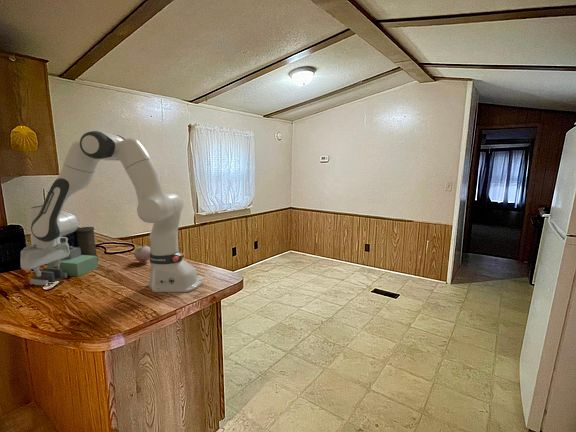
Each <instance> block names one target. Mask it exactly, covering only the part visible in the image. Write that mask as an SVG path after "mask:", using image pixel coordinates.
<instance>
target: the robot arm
mask: <svg viewBox="0 0 576 432" xmlns="http://www.w3.org/2000/svg"><path fill="white" fill-rule="evenodd" d="M101 160H102V161H120V163H121V164H122V166H123V168H124V170H125V173H126V174H127V176H128V178H129V180H130V181H131V183H132V185H133V187H134V189H135V190H134V191H135V192H136V193H135V194H136V197H137V207H136V213H137V215H138V218H139V219H140V220H141V221H143V222H144V223H147V224H153V226H152V229H151V231H150V233H149V247H150V251H151V253H150V258H149V263H150V275H149V276H150V277H149V281H148V287H149V289H150V290H151V292H153V293H189V292H193V291H194V290H196V289H197V288H199V287H200V286H201V285H203V282H204V280H203V277H199V276H198V272H197V270H196V268H195V267H194V266H193V265H191V264H190V263H188V262H187V261H186V260H184V258H183V256H184V255H185V252H182V253H181V251H180V250H179V238H178V235H179V234H178V233H179V232H178V231H179V226H180V225H179V224H180V219H181V214H182V211H183V209H184V201H183V199H182V197H181V196H180V195H178V194H176V193H174V192H165V193H164V191H163V188H162V183H161V182H162V176H161V174H160V172H159V170H158V168H157V167H156V164H155V162H154V161H153V159H152V157H151V155H150V153H149V152H148V151H147V149H146V148H145V147H144V145H143V144H142V143H141V141H140V140H138V139H136V138H131V137H130V138H125V137H123V136H121V135H119V134H114V133H110V132H107V131H99V130H92V131H91V130H90V131H88V132H84V134H82V136H81V137H80V139H79V140H75V141H74V142H73V143H72V144H71V146H70V147H69V149H68V152H67V154H66V155H65V158H64V162H63V165H62V166H61V170H60V172H59V174H58V176H57V177H56V178H55V180H54V181H53V182H52V184H51V187H50V188H49V190H48V193H47V194H46V198H45V199H44V201H43V204H41V205H37V206H32V207H30V208H29V210H28V213H27V214H28V215H27V217H28V219H27V220H28V221H27V222H28V227H29V229H30V243H31V245H29V246H25V247H23V249H21V251H20V261H19V262H20V268H21V269H22V270H25V271H26V270H27V271H29V270H33V272H34V271H35V272H36V275H37V276H38V277H40V276H42V275H43V272H42V271H43V270H40V269H41V266H44V265H47V264H48V263H51V262H55V265H54V266H53V268H57V269H59V265H60V263H61V259H63V258H66V257H68V256H69V254H70V250H69V246H70V245H69V243H68V242H69V241H68V240H69V239H68V237H66V236H67V235H70V234H72V233H74V232H76V230H77V228H79V224H80V223H79V219H78V217H77V216H76V215H75V214H74V213H72V212H68V211H64V210H63V208H64V206H65V203H66V202H67V200H68V199H69V198H70V197H71V196H72V195H74V194H75V193H77V192H80V191H81V190H83V189H85V188H86V187H88V186H89V185H90V183H91V182H92V180H93V178H94V175H95V173H96V169H97V165H98V163H99V162H100V161H101Z"/></svg>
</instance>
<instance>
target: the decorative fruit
mask: <svg viewBox="0 0 576 432" xmlns="http://www.w3.org/2000/svg"><path fill="white" fill-rule="evenodd" d="M150 253H151V251H150V246H148V245H147V244H143V243H142V244H141V245H140V246H138V247H137V248H136V249H135V250H134V253H133V257H134V258H135V259H136V261H138V262H139V263H140V262H141V263H145V262H147V261H148V260H150Z"/></svg>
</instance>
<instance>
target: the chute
mask: <svg viewBox="0 0 576 432" xmlns="http://www.w3.org/2000/svg"><path fill="white" fill-rule="evenodd" d="M41 271H42V272H43V275H42V276H40V277H38V276H37V275H36V272H35V271H34V270H33V273H34V274H33V275H34V279H40V280H48V282H55V281H58V282H60V281H62V280H64V278H63V273H62V269H57V268H48V267H43V268H42V270H41Z"/></svg>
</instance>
